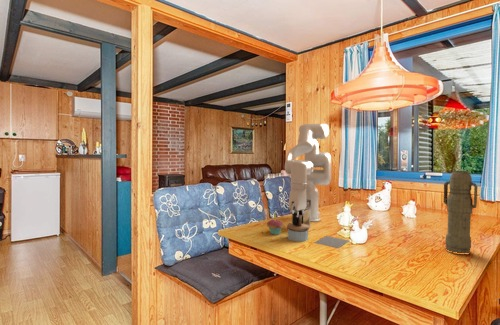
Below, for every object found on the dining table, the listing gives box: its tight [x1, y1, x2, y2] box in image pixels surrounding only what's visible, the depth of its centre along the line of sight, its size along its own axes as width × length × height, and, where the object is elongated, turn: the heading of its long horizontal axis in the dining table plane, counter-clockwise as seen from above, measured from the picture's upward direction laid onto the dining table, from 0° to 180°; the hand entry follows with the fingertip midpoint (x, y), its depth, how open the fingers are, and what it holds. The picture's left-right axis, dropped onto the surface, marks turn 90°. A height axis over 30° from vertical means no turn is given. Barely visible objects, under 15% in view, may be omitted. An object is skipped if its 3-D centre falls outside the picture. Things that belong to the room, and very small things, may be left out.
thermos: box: [443, 170, 478, 253], centre depth 125 cm, size 9×12×35 cm
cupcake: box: [266, 212, 284, 235], centre depth 150 cm, size 9×8×12 cm
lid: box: [286, 215, 310, 231], centre depth 141 cm, size 11×11×6 cm
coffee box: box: [291, 199, 311, 229], centre depth 160 cm, size 9×6×16 cm
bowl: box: [287, 228, 309, 242], centre depth 141 cm, size 10×10×5 cm
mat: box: [313, 235, 350, 249], centre depth 136 cm, size 14×12×1 cm
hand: (297, 223), depth 141 cm, fingers closed on lid, 3 cm apart
